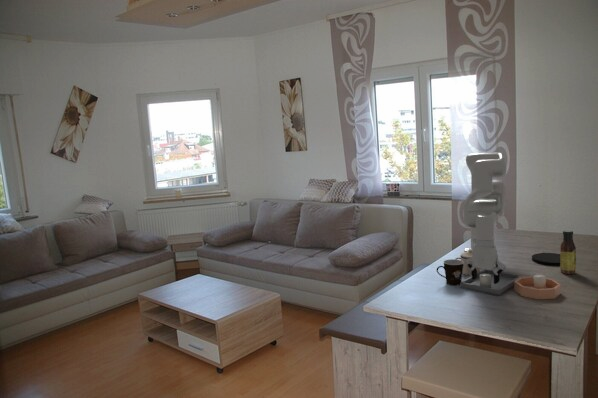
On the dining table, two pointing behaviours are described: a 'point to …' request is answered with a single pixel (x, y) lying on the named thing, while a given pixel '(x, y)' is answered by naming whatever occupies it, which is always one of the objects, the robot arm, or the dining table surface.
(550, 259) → the wireless charger
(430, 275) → the dining table surface
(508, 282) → the parts tray
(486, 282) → the pebble
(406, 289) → the dining table surface
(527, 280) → the bowl
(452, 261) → the coffee mug
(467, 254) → the teacup with lid
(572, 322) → the dining table surface
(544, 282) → the pebble
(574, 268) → the sauce bottle
